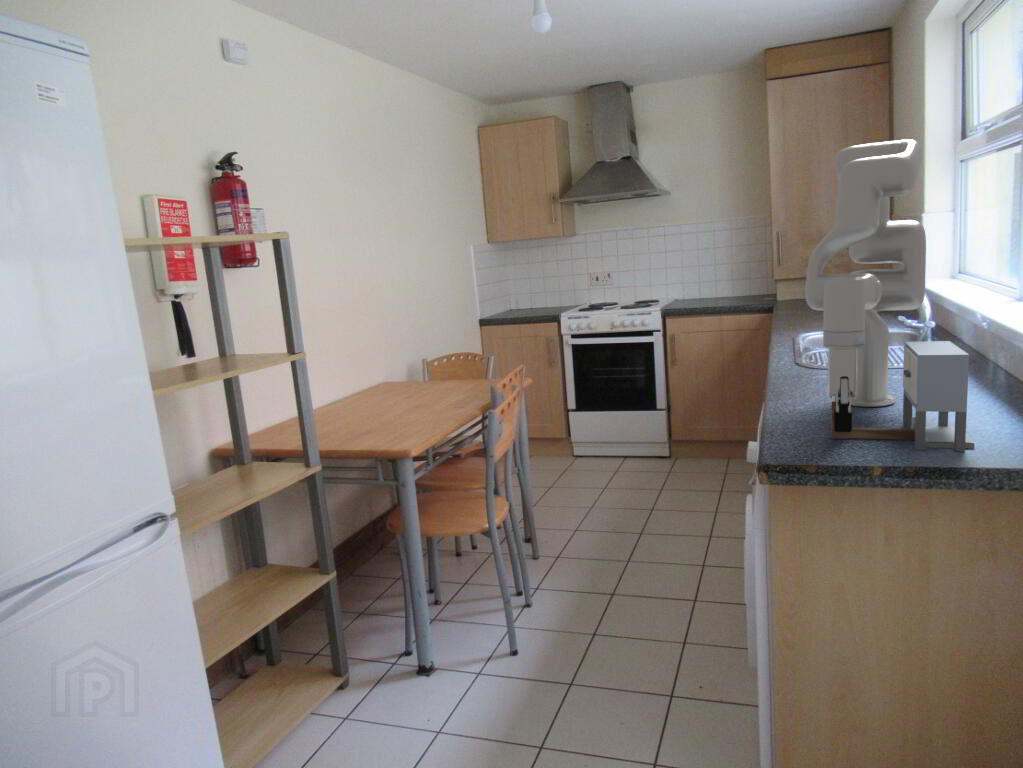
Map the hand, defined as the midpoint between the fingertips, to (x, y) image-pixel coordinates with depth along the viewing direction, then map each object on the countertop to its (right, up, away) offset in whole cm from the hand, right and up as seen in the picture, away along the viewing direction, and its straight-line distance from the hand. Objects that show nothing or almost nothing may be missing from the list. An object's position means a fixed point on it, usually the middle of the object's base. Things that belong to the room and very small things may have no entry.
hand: (842, 428), depth 151 cm
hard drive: (+17, -2, -6) cm, 18 cm away
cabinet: (+15, -2, -5) cm, 16 cm away
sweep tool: (+6, -2, -2) cm, 6 cm away
